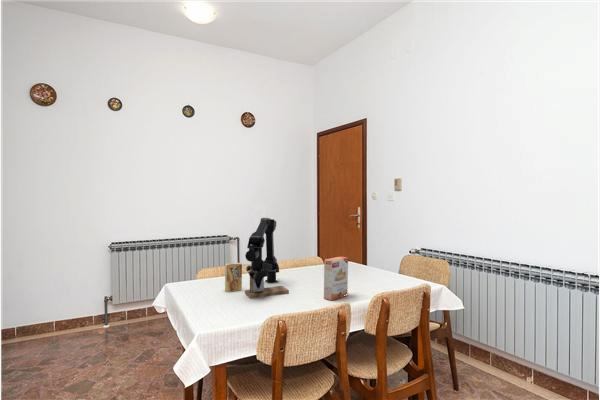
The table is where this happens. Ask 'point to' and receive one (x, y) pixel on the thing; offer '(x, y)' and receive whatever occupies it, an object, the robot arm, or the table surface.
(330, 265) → the cracker box
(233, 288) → the candy box
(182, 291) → the table surface
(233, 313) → the table surface
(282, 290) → the brown flat block
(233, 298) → the table surface
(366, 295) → the table surface
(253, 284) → the metal cube with knob
